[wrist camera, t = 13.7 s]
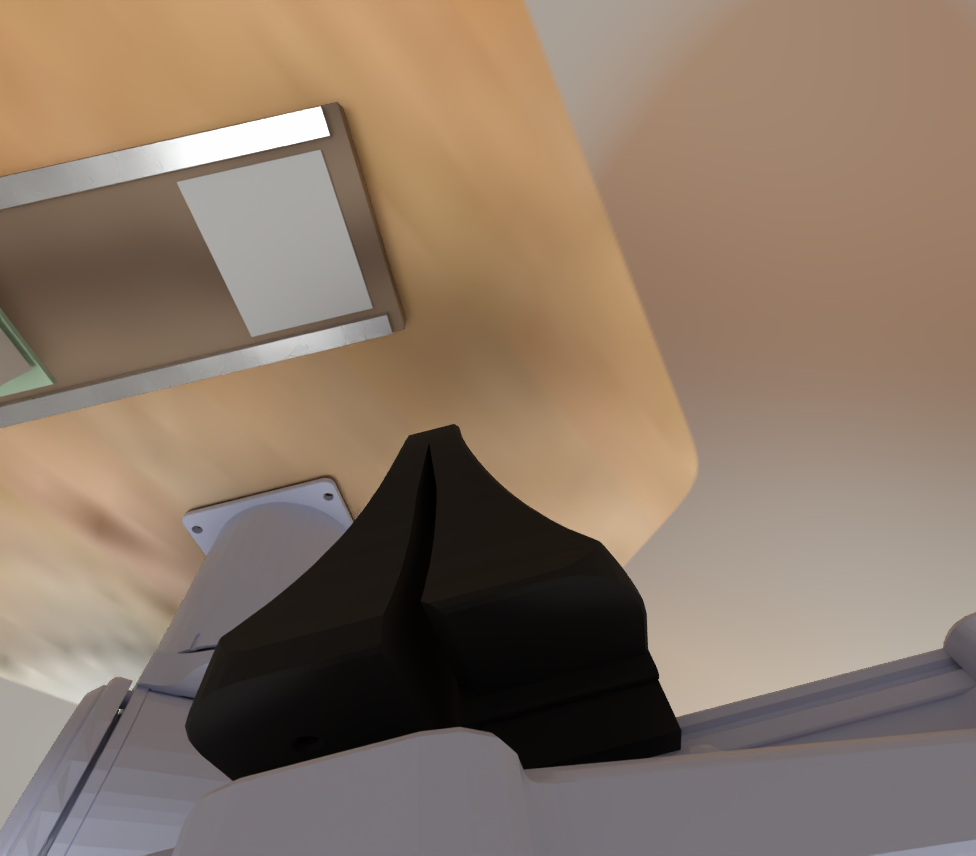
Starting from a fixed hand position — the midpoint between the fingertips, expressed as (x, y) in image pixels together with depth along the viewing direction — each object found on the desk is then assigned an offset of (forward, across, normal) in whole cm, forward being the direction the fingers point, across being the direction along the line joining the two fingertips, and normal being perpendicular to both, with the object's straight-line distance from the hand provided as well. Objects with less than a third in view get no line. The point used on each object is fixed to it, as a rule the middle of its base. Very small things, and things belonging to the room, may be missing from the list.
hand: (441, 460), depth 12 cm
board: (+10, +11, -5) cm, 16 cm away
